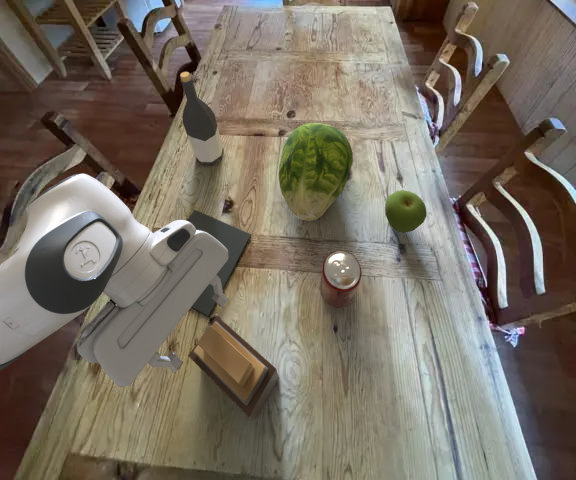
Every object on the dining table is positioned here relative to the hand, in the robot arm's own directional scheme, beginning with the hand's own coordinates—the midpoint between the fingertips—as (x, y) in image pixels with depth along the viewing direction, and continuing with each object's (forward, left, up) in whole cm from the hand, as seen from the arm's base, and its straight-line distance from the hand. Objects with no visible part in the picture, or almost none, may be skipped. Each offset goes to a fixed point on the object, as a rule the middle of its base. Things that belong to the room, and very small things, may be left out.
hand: (202, 332), depth 50 cm
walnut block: (-1, -4, -19) cm, 20 cm away
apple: (+38, -25, -20) cm, 50 cm away
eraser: (-1, -4, -8) cm, 9 cm away
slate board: (+13, +14, -19) cm, 27 cm away
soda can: (+19, -16, -20) cm, 32 cm away
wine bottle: (+38, +28, -20) cm, 51 cm away
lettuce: (+40, -3, -20) cm, 45 cm away
